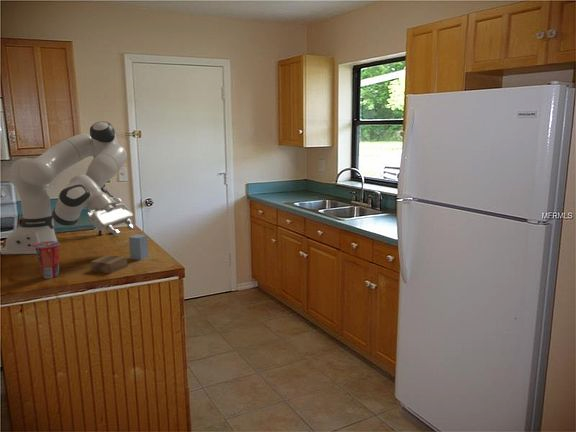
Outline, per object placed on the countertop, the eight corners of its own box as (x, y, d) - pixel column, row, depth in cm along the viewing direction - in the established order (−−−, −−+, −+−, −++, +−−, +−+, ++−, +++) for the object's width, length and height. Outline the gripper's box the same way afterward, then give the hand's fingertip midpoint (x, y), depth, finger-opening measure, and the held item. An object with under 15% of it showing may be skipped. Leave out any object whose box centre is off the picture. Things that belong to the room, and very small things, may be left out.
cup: (58, 270, 178) (54, 239, 175) (67, 275, 172) (64, 243, 170) (31, 276, 171) (27, 244, 169) (40, 282, 166) (36, 249, 163)
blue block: (130, 258, 192) (128, 237, 190) (138, 255, 197) (136, 234, 195) (141, 259, 191) (139, 238, 189) (148, 256, 195) (146, 235, 193)
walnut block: (91, 271, 178) (90, 261, 177) (108, 264, 186) (107, 254, 185) (111, 274, 174) (110, 263, 174) (127, 267, 183) (126, 257, 182)
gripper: (89, 206, 184) (112, 232, 183) (122, 197, 203) (143, 221, 202) (80, 217, 186) (104, 243, 185) (114, 207, 205) (135, 230, 204)
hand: (125, 231), depth 194 cm, fingers open, 8 cm apart
